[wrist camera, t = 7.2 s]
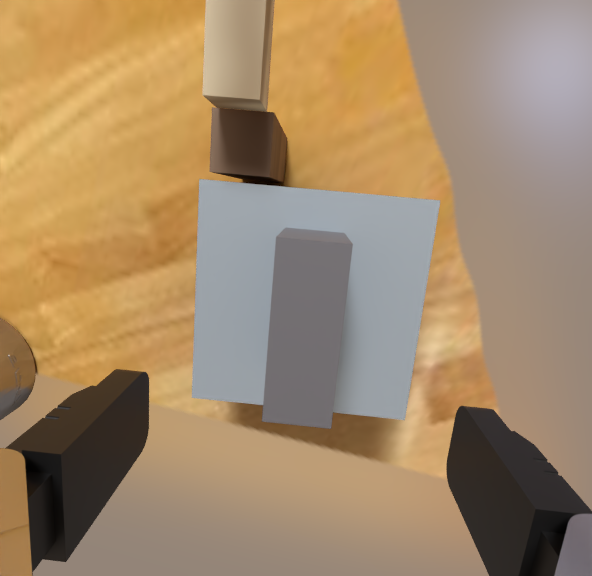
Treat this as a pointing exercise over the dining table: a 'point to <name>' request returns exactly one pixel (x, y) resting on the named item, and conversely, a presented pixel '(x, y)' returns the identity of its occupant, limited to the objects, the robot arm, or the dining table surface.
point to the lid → (309, 299)
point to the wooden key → (238, 53)
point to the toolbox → (247, 145)
